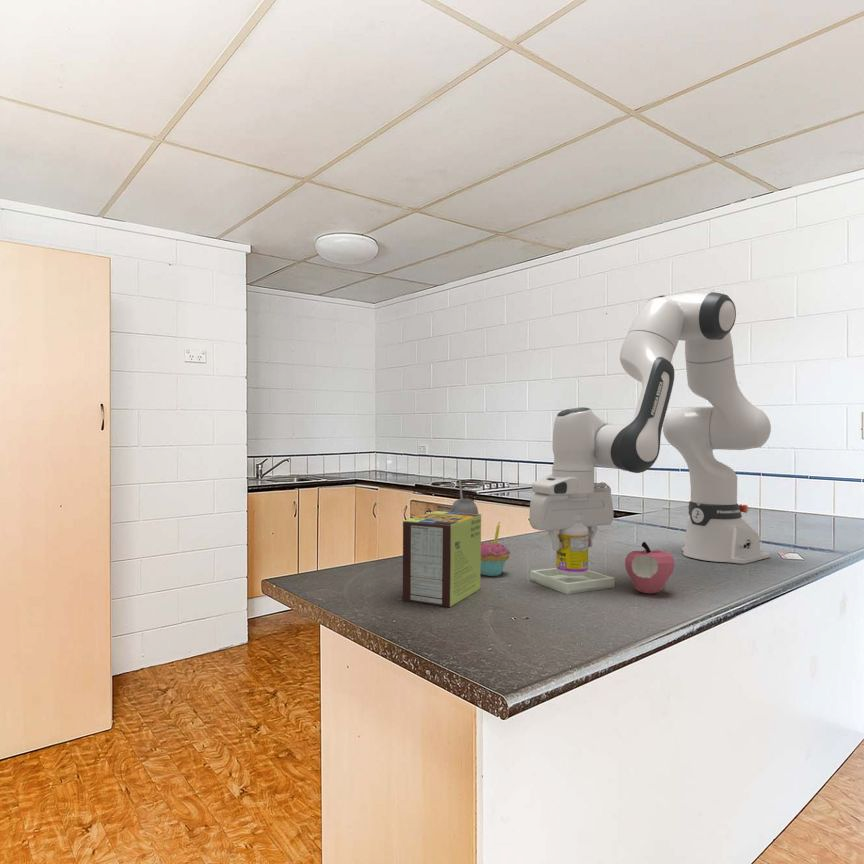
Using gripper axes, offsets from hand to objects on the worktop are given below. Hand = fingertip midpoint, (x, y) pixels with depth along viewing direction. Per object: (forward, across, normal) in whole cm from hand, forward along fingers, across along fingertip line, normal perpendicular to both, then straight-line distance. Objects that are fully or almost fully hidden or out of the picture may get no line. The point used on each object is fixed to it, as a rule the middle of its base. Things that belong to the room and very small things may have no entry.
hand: (572, 548), depth 135 cm
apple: (+8, -10, +12) cm, 18 cm away
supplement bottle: (+6, 0, 0) cm, 6 cm away
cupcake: (+8, +11, -15) cm, 20 cm away
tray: (+8, 0, 0) cm, 8 cm away
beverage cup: (+8, +10, -29) cm, 32 cm away
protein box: (+8, +29, -4) cm, 30 cm away
